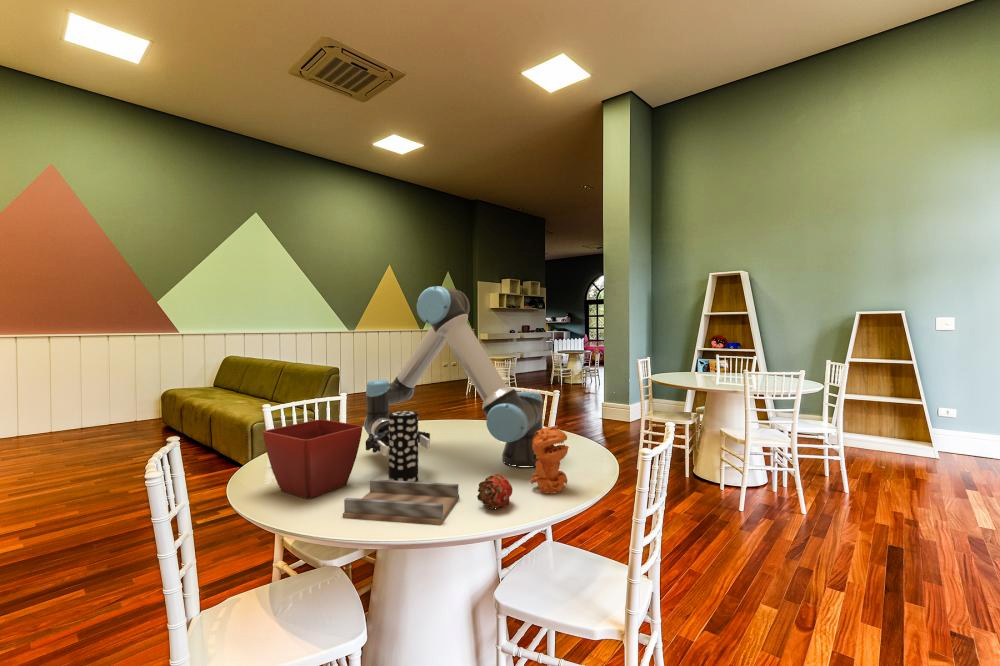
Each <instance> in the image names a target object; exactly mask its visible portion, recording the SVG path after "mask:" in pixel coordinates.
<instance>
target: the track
mask: <svg viewBox="0 0 1000 666" xmlns="http://www.w3.org/2000/svg"><path fill="white" fill-rule="evenodd" d="M458 499H460V494H459V483H448V482H447V483H443V482H429V481H427V482H426V481H425V482H424V481H418V482H412V481H394V480H389V479H377V478H375V479H373V478H372V479H370V480H369V492H368V493H367V494H365V495H364V496H363V497H362V498H359V497H358V498H355V497H345V499H344V501H343V502H344V503H343V504H344V505H343V506H344V507H343V509H344V512H343V513H342V518H343V519H354V520H355V519H356V520H367V521H368V520H371V521H382V522H397V523H398V522H399V523H409V524H411V523H412V524H423V525H435V526H436V525H437V526H441V525H442V524H443V523H444V521H445V520H446V518H447V516H448V515H449V514H450V512H451V511H452V509H453V508H454V506H455V505H457V503H458V501H459V500H458Z"/></svg>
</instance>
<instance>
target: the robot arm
mask: <svg viewBox="0 0 1000 666" xmlns="http://www.w3.org/2000/svg"><path fill="white" fill-rule="evenodd" d="M470 306H471V305H470V301H469V299H468V297H467V296H466V294H465V293H464V292H462V291H461V290H458V289H456V288H448V287H443V286H439V285H437V286H429V287H428V288H426V289H424V290H423V291H422V292H421V293H420V295H419V297H418V299H417V302H416V312H417V315H418V317H419V319H420V320H421V321H423V322H424V323H425V324H427V325H428V324H429V325H430V327H429V329H428V330H427V332H426V333H425V335H424V336H423V338H422V339H421V340H420V342H419V344H418V345H417V346H416V348H415V349H414V351H413V352H412V354H411V355H410V357H409V358H408V359H407V361H406V362H405V363H404V366H402V368H401V369H400V371H399V372H398V374H397V376H396V377H395V378H394V380H393V381H392V382H390V383H389V381H388V380H387V379H371V380H368V381H367V383H366V388H365V389H366V391H365V397H366V402H365V403H366V415H365V416H366V417H365V419H364V421H363V428H364V430H365V431H366V433H367V435H368V438H367V439H366V440H365V450H366V451H370V450H372V453H377V452H379V453H380V454H381V455H382V456H387V447H389V413H390V406H392V405H395V404H398V403H403V402H406V401H408V400H410V399H412V397H413V396H414V393H415V387H416V385H417V384H418V383H419V381H420V380H421V378H422V377H423V376H424V374H425V373H426V371H427V370H428V369H429V367H430V366H431V365H432V363H433V362H434V360H435V359H436V357H437V356H438V355H439V354H440V352H441V350H443V348H444V346H445V344H446V343H447V344H448V346H449V347H450V349H451V351H452V353H453V354H454V356H455V357H456V359H457V360H458V362H459V364H460V365H461V367H462V369H463V370H464V372H465V373H466V375H467V377H468V379H469V380H470V382H471V383H472V385H473V386H474V388H475V390H476V392H477V393H478V395H479V396H480V398H481V400H482V406H481V407H482V408H481V409H482V411H483V412H484V414H485V416H486V428H487V430H488V432H489V434H490V435H491V436H492V437H493V438H494V439H496V440H498V442H499V441H500V442H504V443H505V445H504V448H503V452H502V457H501V458H502V460H503V461H502V460H501V461H502V463H503V462H505V463H507V464H510V465H516V466H535V463H536V461H539V460H538V459H536V455H535V454H534V451H533V449H532V448H533V447H532V442H533V437H534V435H535V432H536V431H539V430H541V429H543V404H544V402H543V396H542V394H541V393H540V392H534V391H533V392H532V391H517V390H516V389H515V388H514V387H510V386H508V385H507V384H506V383H505V380H504V379H503V377H502V376H501V374H500V372H499V371H498V370H497V368H496V367H495V364H494V363H493V361H492V359H490V357H489V356H488V353H487V352H486V350H485V348H483V346H482V343H481V342H480V341H479V339H478V338H477V336H476V335H475V333H474V331H473V330H472V328H471V327H470V324H468V319H469V314H470ZM535 437H536V436H535ZM534 439H535V438H534ZM418 444H419V445H420V446H422V447H423V448H425V449H427V450H430V449H431V433H430V432H425V431H420V430H418ZM540 462H541V461H540ZM505 463H504V464H505ZM507 464H506V465H507Z"/></svg>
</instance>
